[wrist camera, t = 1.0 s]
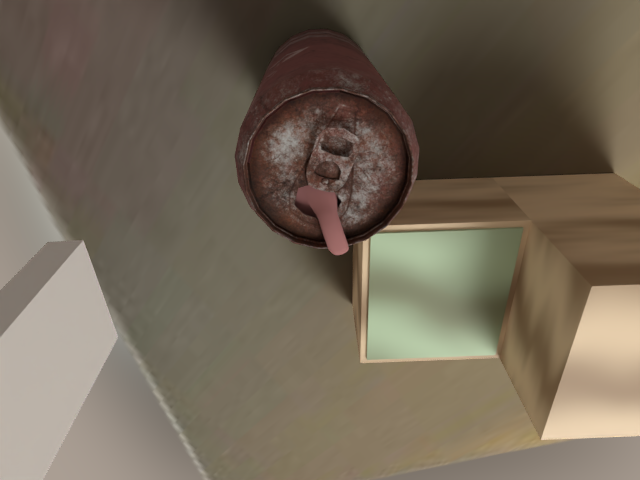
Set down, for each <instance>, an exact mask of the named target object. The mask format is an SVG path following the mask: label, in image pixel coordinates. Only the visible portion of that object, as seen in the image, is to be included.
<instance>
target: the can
mask: <svg viewBox="0 0 640 480" xmlns="http://www.w3.org/2000/svg"><path fill="white" fill-rule="evenodd" d="M418 159H419V145H418V141H417V137H416V133H415V130H414V126H413V122H412V120H411V118H410V117H409V115H408V114H407V112H406V111H405V110H404V108H403V107H402V105H401V104H400V102H399V101H398V99H397V98H396V96H395V95H394V94H393V92H392V91H391V89H390V88H389V87H388V85H387V84H386V83H385V81H384V80H383V79H382V77H381V76H380V74H379V73H378V72H377V70H376V69H375V68H374V66H373V65H372V64H371V62H370V61H369V59H368V58H367V57H366V55H365V54H364V53H363V51H362V50H361V49H360V47H359V46H358V45H357V44H356V43H355V42H353V41H352V40H351V39H349V38H348V37H347V36H345V35H344V34H341V33H338V32H335V31H332V30H329V29H309V30H306V31H304V32H301V33H299V34H296V35H294V36H292V37H291V38H289V39H288V40H287V41H286V42H285V43H284V44H282V45H281V46H280V47H279V48H278V50H277V51H276V53H275V55H274V56H273V58H272V60H271V61H270V63H269V65H268V68H267V70H266V72H265V74H264V76H263V79H262V81H261V83H260V85H259V88H258V90H257V92H256V94H255V96H254V99H253V101H252V103H251V105H250V108H249V110H248V112H247V114H246V116H245V119H244V121H243V123H242V125H241V128H240V133H239V137H238V142H237V147H236V152H235V161H236V168H237V176H238V183H239V185H240V187H241V189H242V191H243V193H244V195H245V197H246V199H247V201H248V203H249V205H250V207H251V208H252V209H253V210H254V211H255V212H256V214H257V215H258V216H259V217H260V218H261V219H262V220H263V221H264V222H265V223H266V224H267V226H268V227H269V228H270V229H271V230H272V231H273V232H275V233H277V234H279V235H281V236H282V237H284V238H286V239H288V240H289V241H291V242H293V243H296V244H300V245H304V246H308V247H313V248H317V249H325V248H328V249H329V251H330V252H331V253H333V254H334V255H342V254H344V253H346V252H347V251H348V249H349V247H348V246H350V245H353V244H356V243H359V242H362V241H366V240H367V239H369V238H370V237H372V236H373V235H375V234H376V233H378V232H379V231H381V230H383V229H384V228H386V227H387V226H388V225H389V223H390V222H391V221H392V220H393V219H394V217H395V216H396V215H397V214H398V213H399V212H400V210H401V209H402V208H403V206H404V203H405V202H406V201H407V199H408V196H409V194H410V191H411V189H412V187H413V184H414V182H415V180H416V177H417V171H418Z"/></svg>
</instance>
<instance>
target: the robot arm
mask: <svg viewBox="0 0 640 480" xmlns="http://www.w3.org/2000/svg"><path fill="white" fill-rule="evenodd" d="M117 338H118V335H117V333H116V330H115V327H114V324H113V322H112V319H111V316H110V313H109V310H108V308H107V305H106V302H105V299H104V296H103V294H102V291H101V288H100V285H99V283H98V280H97V277H96V274H95V271H94V269H93V266H92V263H91V260H90V257H89V255H88V252H87V249H86V246H85V244H84V241H83V240H78V241H59V242H48V243H46V245H45V246H44V247H43V248H42V249H41V250H40V251H39V252H38V253H37V254H36V255H35V256H34V257H33V258H32V259H31V260H30V261H29V262H28V263H27V264H26V265H25V266H24V267H23V268H22V269H21V270H20V271H19V272H18V273H17V274H16V275H15V276H14V277H13V278H12V279H11V280H10V281H9V282H8V283H7V284H6V285H5V286H4V287H3V288H2V289H1V290H0V480H43V479H44V477H45V475H46V473H47V471H48V469H49V467H50V465H51V463H52V461H53V460H54V458H55V456H56V454H57V452H58V450H59V448H60V446H61V445H62V443H63V441H64V439H65V437H66V435H67V433H68V431H69V429H70V428H71V426H72V424H73V422H74V420H75V418H76V416H77V414H78V412H79V410H80V409H81V407H82V405H83V403H84V401H85V399H86V397H87V395H88V393H89V392H90V390H91V388H92V386H93V384H94V382H95V380H96V378H97V376H98V374H99V372H100V370H101V369H102V367H103V365H104V363H105V361H106V359H107V357H108V356H109V354H110V352H111V350H112V348H113V346H114V344H115V342H116V340H117Z"/></svg>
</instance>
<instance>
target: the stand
mask: <svg viewBox="0 0 640 480" xmlns="http://www.w3.org/2000/svg"><path fill="white" fill-rule="evenodd" d="M352 306H353V313H354V320H355V328H356V335H357V343H358V350H359V357H360V363H374V362H401V361H428V360H454V359H481V358H500V360H501V362H502V363H503V365H504V367H505V369H506V371H507V373H508V375H509V377H510V379H511V381H512V383H513V385H514V387H515V389H516V391H517V393H518V395H519V397H520V399H521V401H522V403H523V405H524V407H525V409H526V411H527V413H528V415H529V417H530V419H531V421H532V423H533V425H534V427H535V429H536V431H537V433H538V435H539V437H540V439H541V440H547V439H573V438H599V437H625V436H640V189H639V188H637V187H636V186H634V185H632V184H631V183H629V182H628V181H626V180H625V179H623V178H622V177H620V176H618V175H617V174H615V173H606V174H578V175H550V176H521V177H493V178H465V179H437V180H415V182H414V184H413V187H412V189H411V191H410V194H409V196H408V199H407V201H406V202H405V203H404V206H403V208H402V209H401V210H400V212H399V213H398V214H397V215H396V216H395V217H394V219H393V220H392V221H391V222H390V223H389V225H388V226H387V227H386V228H384V229H383V230H381V231H379V232H378V233H376V234H375V235H373V236H372V237H370V238H369V239H367V240H366V241H362V242H359V243H356V244H353V295H352Z"/></svg>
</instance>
